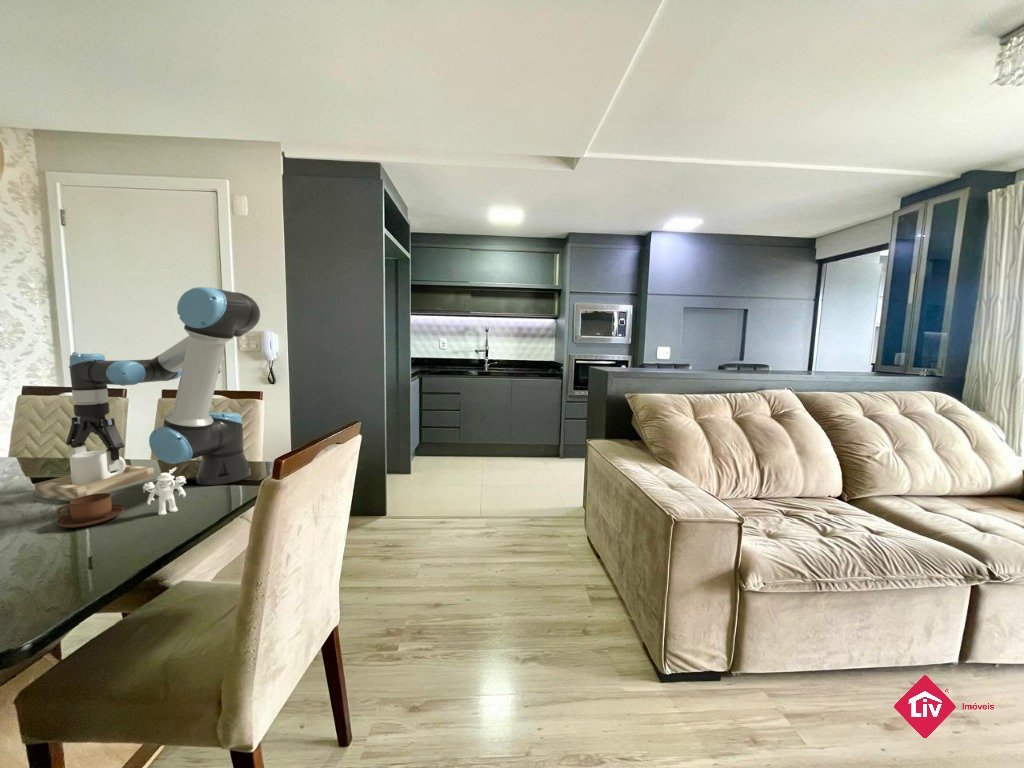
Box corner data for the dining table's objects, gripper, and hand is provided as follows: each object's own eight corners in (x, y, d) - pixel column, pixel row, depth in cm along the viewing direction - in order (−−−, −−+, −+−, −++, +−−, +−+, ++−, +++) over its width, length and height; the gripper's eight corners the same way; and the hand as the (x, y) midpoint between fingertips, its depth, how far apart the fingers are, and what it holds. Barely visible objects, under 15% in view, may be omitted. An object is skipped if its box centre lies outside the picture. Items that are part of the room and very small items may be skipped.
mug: (126, 476, 131) (124, 447, 130) (127, 483, 125) (125, 452, 124) (73, 485, 122) (70, 453, 121) (71, 492, 116) (68, 459, 115)
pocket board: (154, 479, 132) (153, 467, 131) (78, 502, 112) (77, 488, 112) (116, 474, 135) (115, 463, 135) (36, 496, 116) (34, 483, 115)
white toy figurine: (185, 504, 112) (183, 464, 111) (190, 508, 109) (187, 467, 108) (143, 515, 104) (140, 472, 103) (147, 519, 102) (143, 475, 101)
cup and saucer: (59, 537, 93) (57, 512, 92) (55, 522, 100) (53, 499, 100) (129, 519, 102) (127, 497, 102) (120, 507, 110) (118, 486, 109)
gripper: (136, 402, 122) (141, 468, 124) (77, 399, 127) (83, 461, 129) (107, 406, 115) (113, 475, 117) (45, 402, 120) (52, 468, 122)
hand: (97, 468), depth 123 cm, fingers open, 13 cm apart
